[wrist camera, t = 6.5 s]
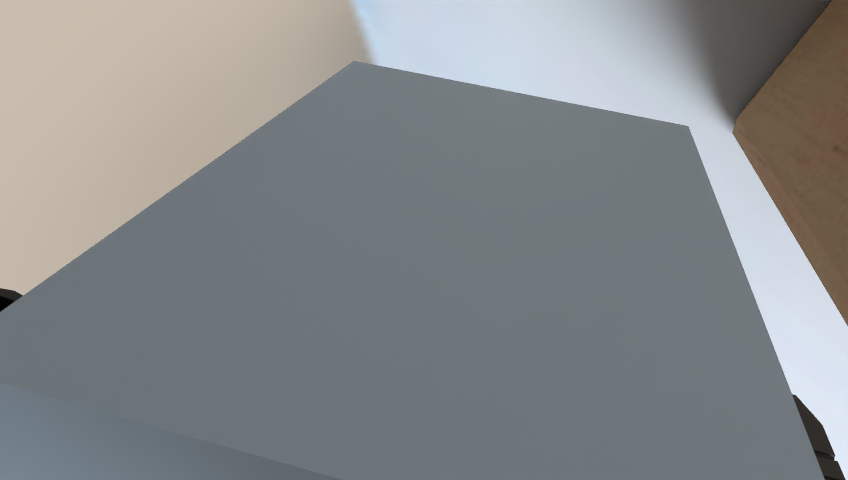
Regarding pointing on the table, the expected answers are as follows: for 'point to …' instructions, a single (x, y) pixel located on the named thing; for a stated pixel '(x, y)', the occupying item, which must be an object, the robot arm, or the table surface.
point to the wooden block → (808, 145)
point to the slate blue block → (409, 308)
